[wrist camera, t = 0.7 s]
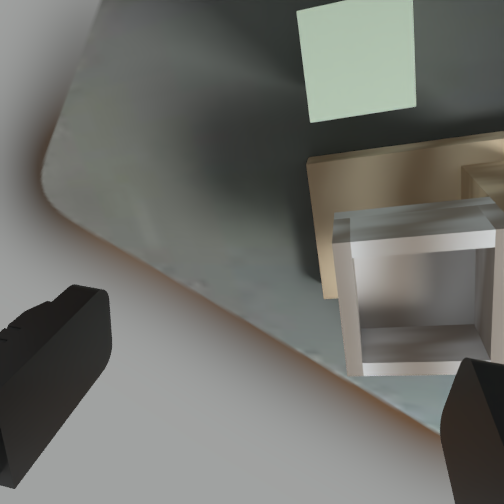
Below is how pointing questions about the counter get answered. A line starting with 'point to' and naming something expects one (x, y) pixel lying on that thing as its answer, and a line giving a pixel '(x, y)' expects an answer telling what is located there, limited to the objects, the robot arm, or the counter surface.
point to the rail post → (358, 57)
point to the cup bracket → (414, 252)
